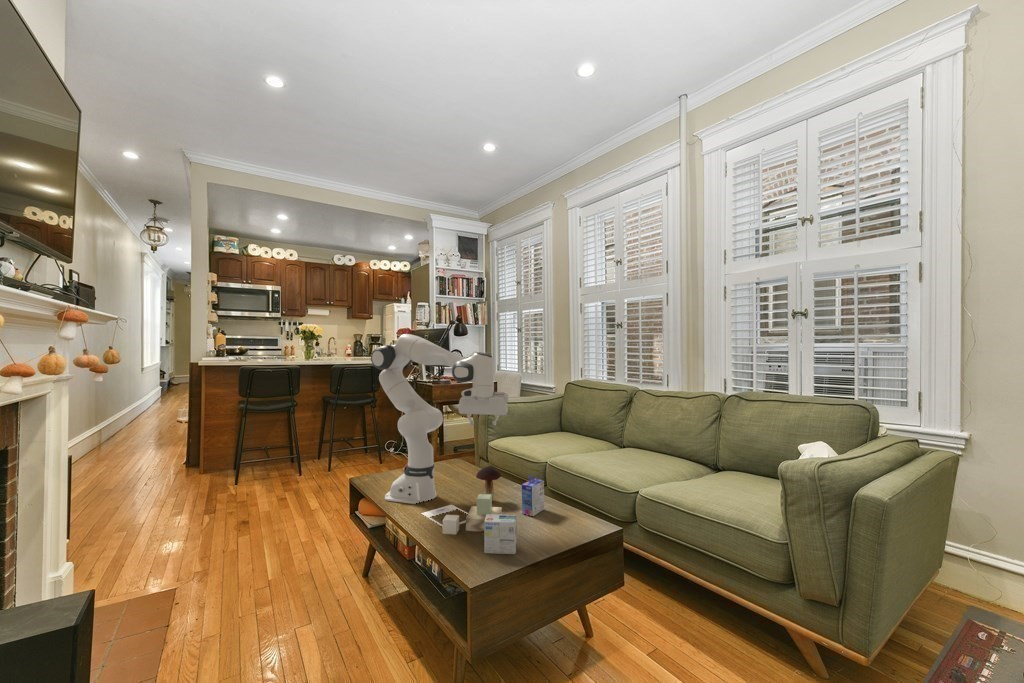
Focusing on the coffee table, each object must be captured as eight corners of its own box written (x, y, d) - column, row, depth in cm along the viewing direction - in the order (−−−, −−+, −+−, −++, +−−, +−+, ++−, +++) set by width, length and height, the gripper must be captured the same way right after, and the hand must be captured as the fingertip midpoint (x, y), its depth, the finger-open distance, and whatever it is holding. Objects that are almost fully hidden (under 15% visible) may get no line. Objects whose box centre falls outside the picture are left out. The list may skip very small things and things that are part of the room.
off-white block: (442, 534, 157) (442, 520, 157) (445, 528, 162) (446, 514, 162) (456, 534, 156) (456, 520, 156) (459, 528, 161) (459, 515, 161)
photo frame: (451, 504, 184) (477, 517, 170) (451, 506, 184) (477, 520, 170) (420, 512, 174) (445, 527, 161) (420, 515, 174) (445, 530, 161)
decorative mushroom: (491, 507, 182) (491, 471, 182) (470, 501, 188) (471, 467, 188) (506, 499, 191) (506, 465, 191) (486, 494, 197) (486, 461, 197)
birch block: (465, 531, 159) (465, 518, 159) (471, 518, 171) (471, 505, 171) (498, 533, 158) (498, 519, 158) (501, 520, 170) (501, 507, 170)
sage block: (476, 514, 163) (476, 498, 163) (479, 509, 168) (478, 494, 168) (490, 515, 162) (489, 499, 162) (491, 509, 167) (491, 494, 167)
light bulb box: (516, 545, 148) (516, 513, 148) (516, 554, 142) (516, 521, 142) (485, 544, 149) (485, 512, 149) (483, 553, 142) (483, 521, 142)
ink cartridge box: (533, 506, 183) (533, 472, 184) (544, 509, 180) (545, 474, 180) (520, 514, 175) (521, 478, 175) (532, 517, 172) (533, 480, 172)
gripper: (509, 391, 181) (508, 424, 181) (461, 390, 183) (460, 423, 183) (507, 393, 175) (507, 427, 175) (457, 392, 177) (457, 425, 177)
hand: (482, 425), depth 179 cm, fingers open, 8 cm apart
